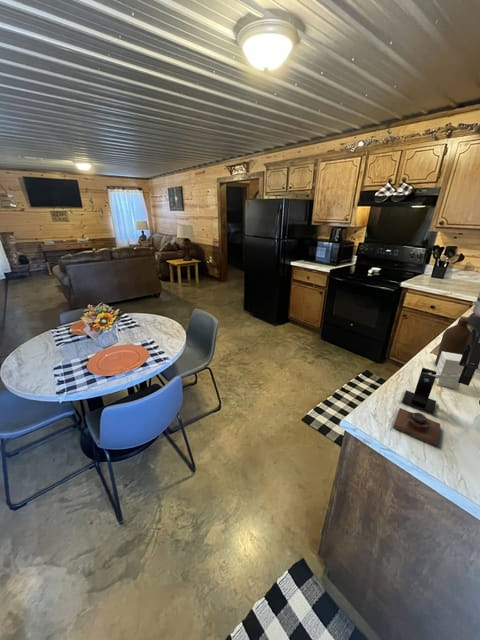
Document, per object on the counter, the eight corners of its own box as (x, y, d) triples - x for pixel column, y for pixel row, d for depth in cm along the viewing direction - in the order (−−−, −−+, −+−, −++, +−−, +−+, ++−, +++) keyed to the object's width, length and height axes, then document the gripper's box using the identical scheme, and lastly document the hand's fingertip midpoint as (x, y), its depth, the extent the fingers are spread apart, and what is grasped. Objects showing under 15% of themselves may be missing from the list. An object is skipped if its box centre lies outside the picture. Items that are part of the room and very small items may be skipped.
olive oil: (443, 372, 119) (462, 322, 109) (428, 360, 128) (444, 312, 119) (467, 373, 118) (487, 322, 109) (450, 360, 128) (467, 313, 119)
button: (425, 419, 87) (426, 415, 86) (424, 426, 84) (425, 422, 84) (412, 414, 89) (414, 410, 88) (411, 420, 86) (412, 416, 86)
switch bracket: (435, 403, 99) (446, 372, 94) (433, 415, 94) (445, 382, 88) (405, 392, 105) (414, 363, 100) (401, 402, 99) (411, 372, 94)
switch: (467, 376, 89) (465, 370, 89) (467, 383, 86) (465, 376, 85) (424, 376, 98) (422, 370, 97) (422, 382, 94) (421, 376, 94)
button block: (438, 427, 88) (441, 419, 87) (436, 446, 81) (439, 437, 80) (398, 411, 95) (400, 403, 94) (392, 427, 88) (395, 419, 86)
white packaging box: (453, 379, 114) (463, 354, 109) (458, 389, 107) (468, 363, 102) (433, 375, 116) (441, 350, 112) (436, 384, 110) (445, 358, 105)
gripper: (471, 302, 91) (451, 356, 99) (472, 324, 73) (447, 387, 81) (500, 307, 86) (477, 363, 95) (509, 332, 68) (479, 397, 77)
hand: (463, 374), depth 88 cm, fingers open, 13 cm apart
